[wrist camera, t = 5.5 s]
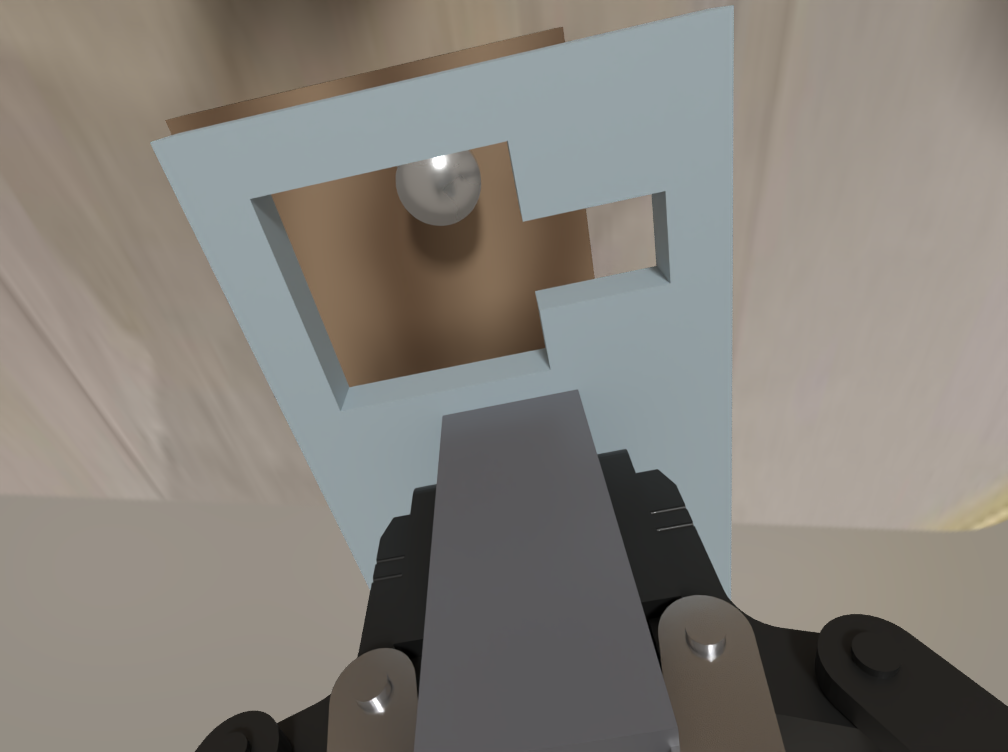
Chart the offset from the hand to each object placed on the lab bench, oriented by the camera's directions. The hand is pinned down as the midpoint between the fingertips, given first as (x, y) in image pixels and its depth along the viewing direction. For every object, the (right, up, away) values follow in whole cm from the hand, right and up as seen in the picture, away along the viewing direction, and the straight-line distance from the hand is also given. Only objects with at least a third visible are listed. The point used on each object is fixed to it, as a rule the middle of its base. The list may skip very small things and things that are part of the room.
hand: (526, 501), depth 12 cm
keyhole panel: (0, +1, +2) cm, 2 cm away
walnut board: (-4, +7, +13) cm, 15 cm away
